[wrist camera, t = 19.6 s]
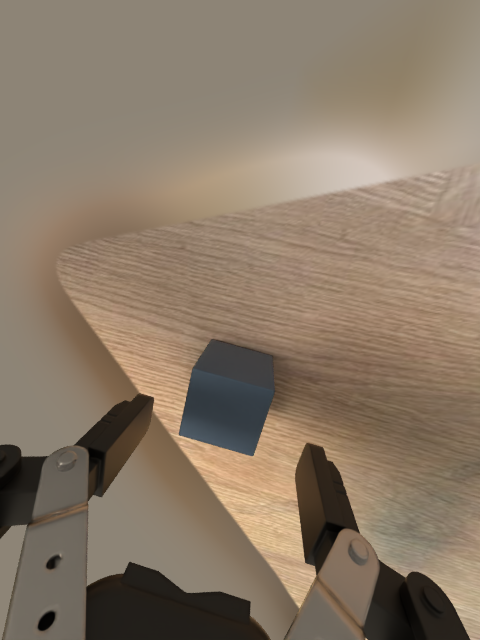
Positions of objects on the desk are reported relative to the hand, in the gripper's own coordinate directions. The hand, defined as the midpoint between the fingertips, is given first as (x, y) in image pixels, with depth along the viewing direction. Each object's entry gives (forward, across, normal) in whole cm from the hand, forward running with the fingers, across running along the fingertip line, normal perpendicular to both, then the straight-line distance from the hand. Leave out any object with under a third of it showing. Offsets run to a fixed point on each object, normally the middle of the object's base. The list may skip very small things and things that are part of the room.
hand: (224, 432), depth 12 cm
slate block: (+6, 0, 0) cm, 6 cm away
